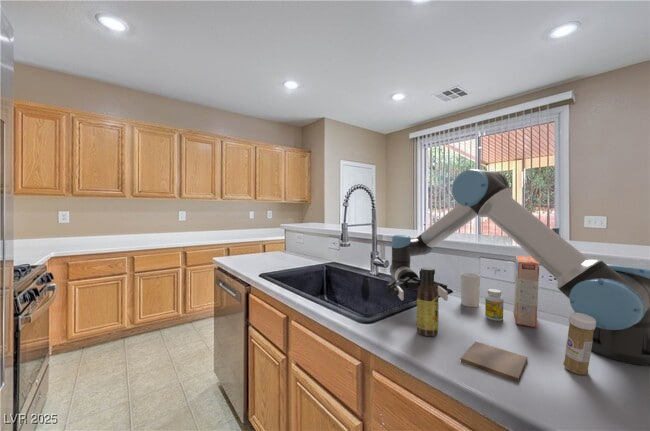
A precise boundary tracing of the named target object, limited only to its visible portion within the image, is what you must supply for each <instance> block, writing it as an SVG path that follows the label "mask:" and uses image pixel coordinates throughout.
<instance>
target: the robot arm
mask: <svg viewBox="0 0 650 431" xmlns="http://www.w3.org/2000/svg"><path fill="white" fill-rule="evenodd" d="M451 194H452V197H453V199H454V201H456V203H457V205H456V206H454V207H453V208H452V209H450V211H448V212H447V213H446V214H445V215H442V217H440V218H439V219H438V220H437V221H436V222H434V223H433V224H432V225H431V226H429V227H428V228H427V229H426V230H424V231H423V232H422V233H421V234H419V235H418V236H417V237H414V238H411V236H410V235H408V234H395V235H393V236H392V239H391V265H390V267H389V273H390V275H391V277H392V278H391V281H390V282H388V283H387V284H386V293H388V294H389V293H391V292H392V296H398V298H399V300H400V301H404V295H405V294H404V291H407V292H410V291H414V290H418V287H419V286H420V284H421V278H420V277H419V275H418V274H417V273H416V272H415V271H414V270H413V269H411V257H416V256H423V255H427V254H430V253H431V252H433V250H434V249H435V248H434V247H436V246H437V245H439V244H440V243H441V242H443V241H444V240H446V239H447V238H448V237H450V236H451V235H453V233H456V232H457V231H458V230H460V229H461V228H462V227H464V226H465V225H467V224H468V223H469V222H470V221H471V222H472V220H474V219H475V218H476V217H480V218H488V219H490V220H491V221H492V222H493V223H494V224H495V225H496V226H497V227H498V228H499V229H501V231H503V232H504V233H505V234H506V235H507V236H508V237H509V238H511V239H512V241H514V242H515V243H516V244H517V245H518V246H520V248H522V249H523V250H524V251H525V252H526V253H527V254H528V255H529V256H530V257H533V258H534V259H535V260H536V261H537V262H538V263H539V265H541V267H543V268H544V269H545V270H546V271H547V272H548V273H549V274H551V276H553V277H554V278H555V279H556V280H557V289H558V291H560V292H561V293H562V294H563V295H564V296H565V297H567V299H569V304H570V306H571V308H572V310H573V313H583V314H586V315H589V316H591V317H593V318H594V319H595V320H596V327H595V330H594V332H593V342H592V349H591V352H594V353H596V354H599V355H600V356H604V357H605V358H609V359H613V360H616V361H619V362H623V363H628V364H633V365H638V366H647V367H649V366H650V269H648V268H644V267H643V268H642V267H634V266H626V265H620V264H619V265H618V264H610V263H609V264H608V263H605V262H604V261H602V260H601V259H596V258H588V257H587V256H586V255H584V254H583V253H582V252H581V251H579V250H578V249H577V248H575V247H574V246H573V245H572V244H571V243H569V242H568V241H567V240H566V239H565V238H563V237H561V236H560V234H558V233H557V232H556V231H554V230H553V229H552V228H550V227H549V226H548V225H546V223H545V222H543V221H542V220H540V219H539V218H538V217H537V216H535V215H534V214H533V213H532V212H531V211H529V210H528V209H527V208H525V207H524V205H522V204H520V203H519V202H518V201H517V200H516V199H514V198H513V197H512V189H511V188H510V184H509V180H508V179H507V178H506V177H505V175H503V174H501V173H499V172H497V171H490V170H483V169H482V170H481V169H479V168H471V169H466V170H464V171H461V172H460V173H459V174H458V175H456V176H455V178H454V180H453V182H452V185H451ZM434 285H435V287H436V288H437V290H438V297H440V298H442V299H443V300H444V301H445V302H446V301H447V302H448V299H449V294H448V293H449V292H448V285H447V284H444V283H441V282H438V281H435V280H434Z"/></svg>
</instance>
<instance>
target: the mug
mask: <svg viewBox="0 0 650 431" xmlns="http://www.w3.org/2000/svg"><path fill="white" fill-rule="evenodd" d="M480 287H481V274H479V273H475V272H470V271H469V272H467V271H466V272H461V273H460V303H461V305H462V306H465V307H468V308H478V307H480V290H481V289H480Z"/></svg>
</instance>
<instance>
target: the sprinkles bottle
mask: <svg viewBox="0 0 650 431" xmlns="http://www.w3.org/2000/svg"><path fill="white" fill-rule="evenodd" d="M568 323H569V325H568V326H569V327H568V333H567V338H566V342H565V349H564V353H565V354H564V361H563V366H564V368H565V369H567V370H568V371H570V372H571V373H573V374H577V375H582V376H583V375H584V376H585V375H587V374H589V365H590V360H591V355H592V350H591V349H592V342H593V332H594V330H595V327H596V320H595V319H594V318H593V317H591V316H589V315H586V314H583V313H575V312H571V313H569V318H568Z"/></svg>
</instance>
